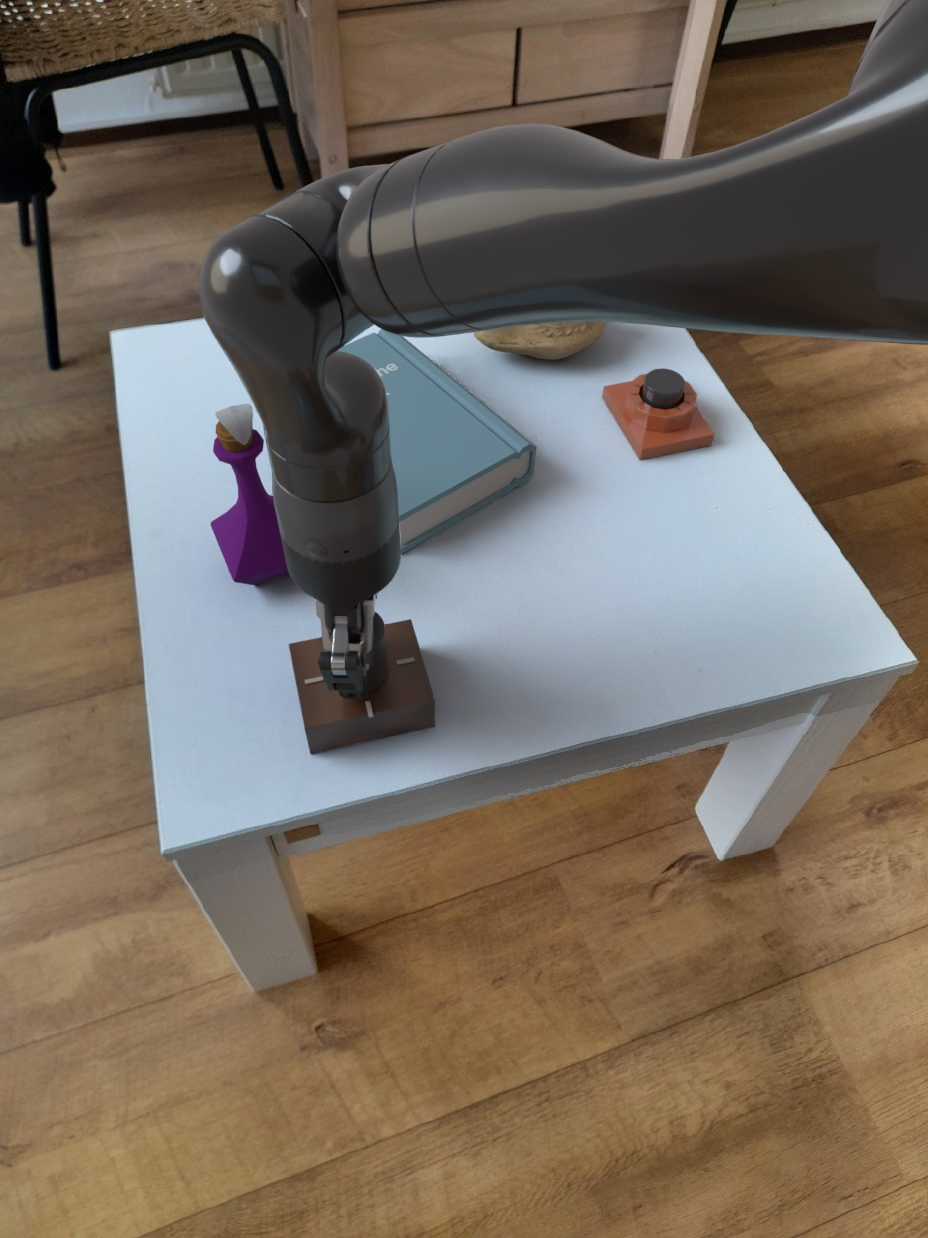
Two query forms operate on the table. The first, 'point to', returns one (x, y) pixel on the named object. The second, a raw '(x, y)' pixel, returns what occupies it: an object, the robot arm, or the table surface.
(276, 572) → the perfume bottle
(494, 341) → the oil lamp
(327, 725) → the dial panel
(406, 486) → the book
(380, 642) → the dial
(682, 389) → the dark grey knob
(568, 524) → the table surface
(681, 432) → the button base
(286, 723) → the table surface
